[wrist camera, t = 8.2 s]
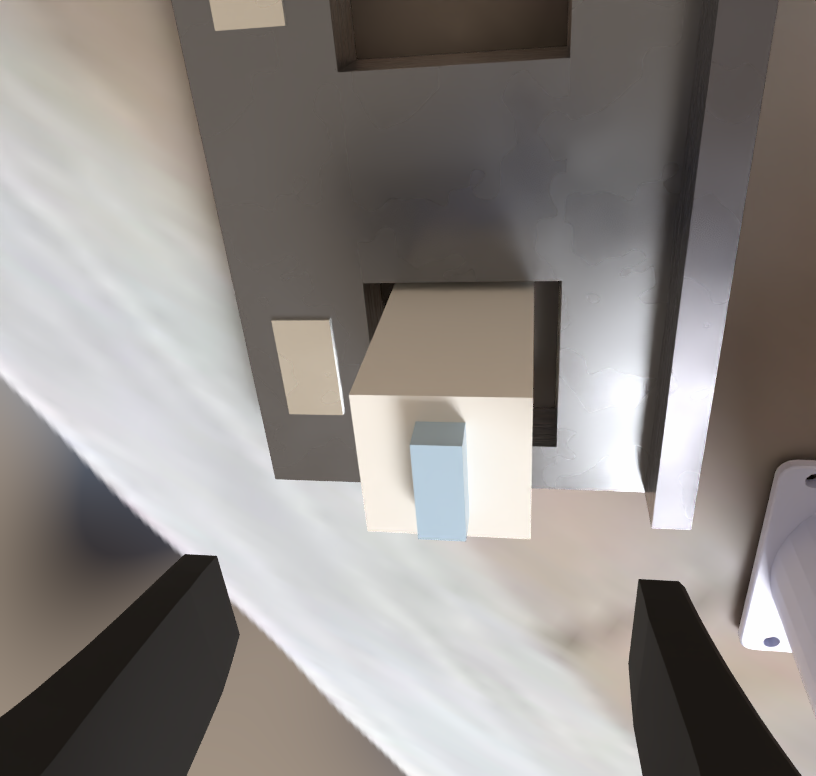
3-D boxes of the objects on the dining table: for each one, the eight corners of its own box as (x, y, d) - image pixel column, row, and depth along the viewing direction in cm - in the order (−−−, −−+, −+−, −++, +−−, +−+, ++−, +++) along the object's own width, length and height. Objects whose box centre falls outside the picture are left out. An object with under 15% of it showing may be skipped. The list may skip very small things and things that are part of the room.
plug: (534, 260, 20) (533, 421, 13) (532, 374, 21) (530, 566, 15) (404, 262, 20) (339, 417, 14) (412, 373, 22) (360, 557, 16)
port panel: (781, -371, 13) (854, -462, 10) (670, 451, 22) (690, 530, 19) (154, -275, 15) (60, -328, 12) (293, 441, 24) (260, 511, 21)
